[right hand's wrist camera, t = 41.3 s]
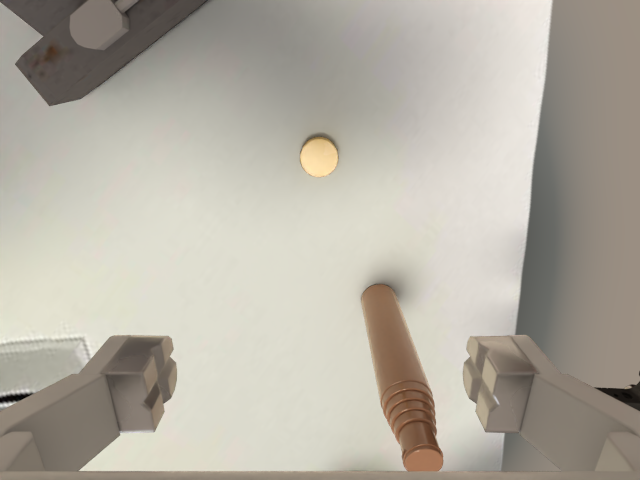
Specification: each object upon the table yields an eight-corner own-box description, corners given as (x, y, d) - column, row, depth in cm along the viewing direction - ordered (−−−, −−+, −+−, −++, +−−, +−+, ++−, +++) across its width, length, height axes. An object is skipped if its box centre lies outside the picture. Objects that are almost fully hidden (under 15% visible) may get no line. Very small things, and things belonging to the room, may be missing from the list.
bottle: (354, 305, 49) (380, 471, 28) (373, 278, 48) (417, 431, 26) (383, 320, 50) (430, 493, 29) (403, 294, 48) (468, 455, 27)
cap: (343, 164, 43) (345, 167, 41) (310, 180, 43) (310, 183, 42) (328, 129, 41) (328, 131, 40) (293, 146, 42) (293, 149, 40)
